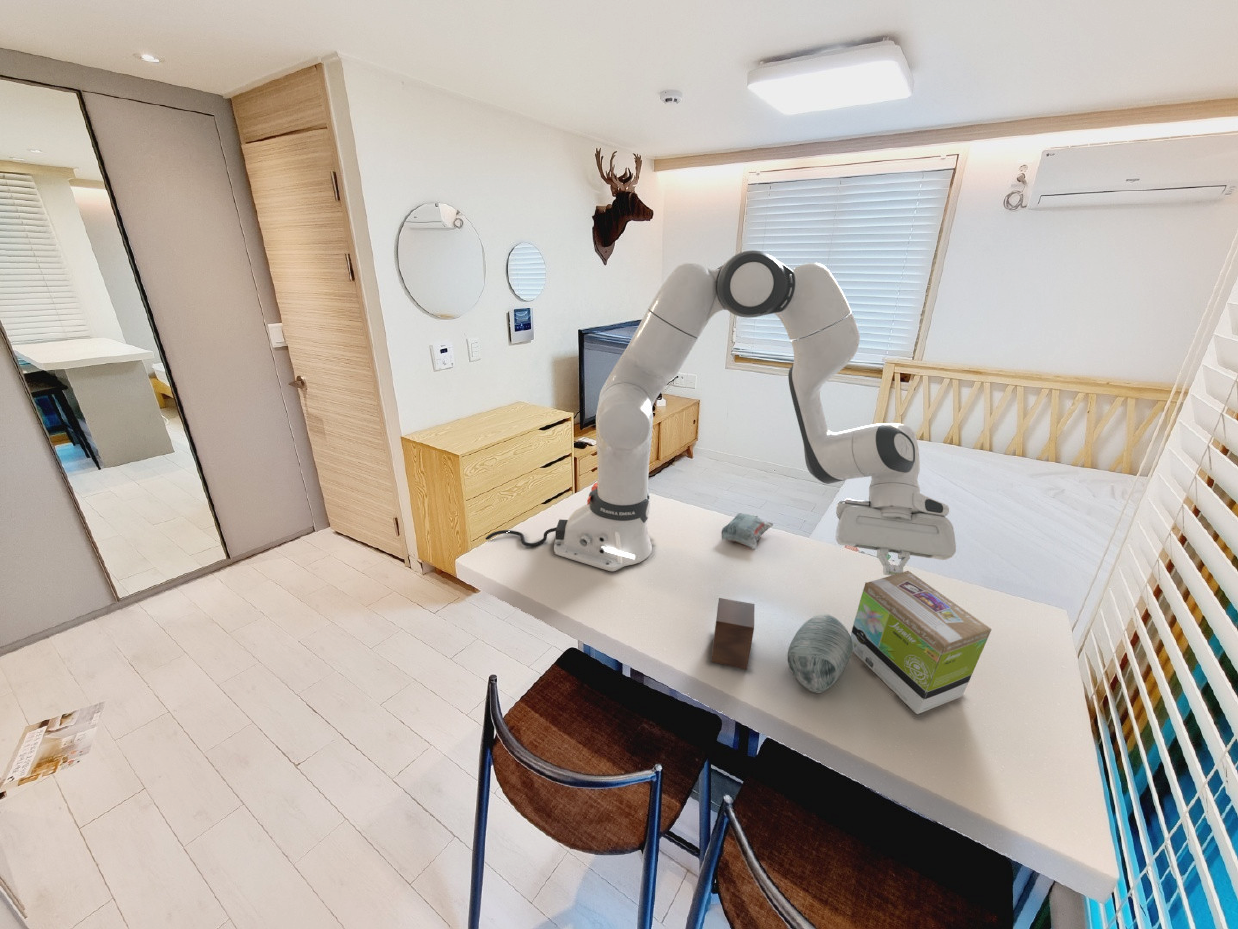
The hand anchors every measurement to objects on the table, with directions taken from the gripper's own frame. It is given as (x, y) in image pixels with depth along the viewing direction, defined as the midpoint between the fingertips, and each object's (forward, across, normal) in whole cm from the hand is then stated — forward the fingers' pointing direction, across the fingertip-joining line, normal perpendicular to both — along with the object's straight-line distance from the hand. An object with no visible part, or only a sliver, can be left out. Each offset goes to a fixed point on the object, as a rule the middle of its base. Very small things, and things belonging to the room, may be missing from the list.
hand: (892, 575), depth 93 cm
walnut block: (+19, -28, -6) cm, 34 cm away
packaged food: (-8, -26, +21) cm, 34 cm away
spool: (+19, -14, -6) cm, 24 cm away
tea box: (+17, 0, -4) cm, 17 cm away
